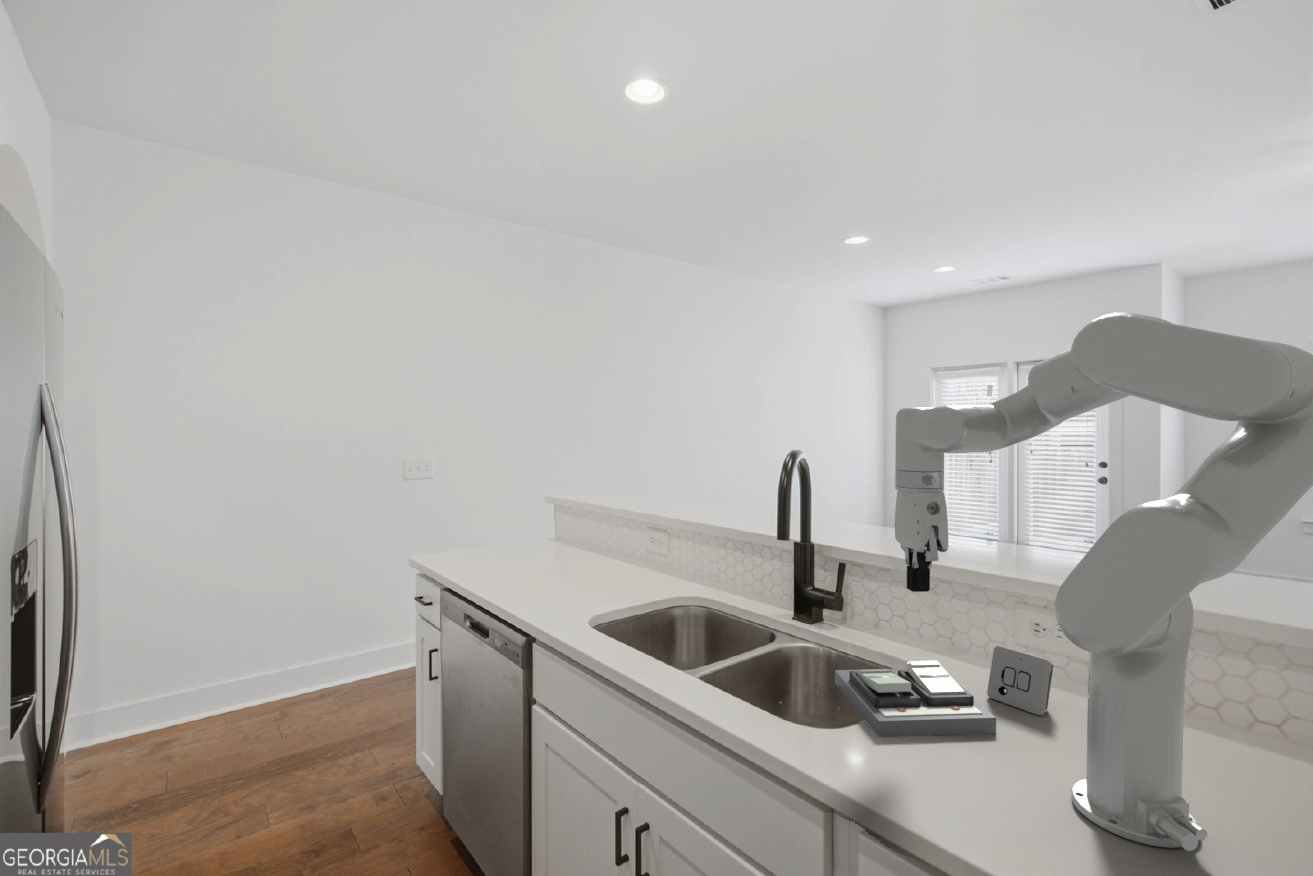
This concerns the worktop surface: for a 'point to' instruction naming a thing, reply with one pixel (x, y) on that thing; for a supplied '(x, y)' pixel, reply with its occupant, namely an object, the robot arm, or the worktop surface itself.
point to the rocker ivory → (933, 678)
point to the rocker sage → (884, 681)
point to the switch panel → (914, 709)
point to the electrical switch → (1020, 680)
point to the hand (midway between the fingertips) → (918, 590)
